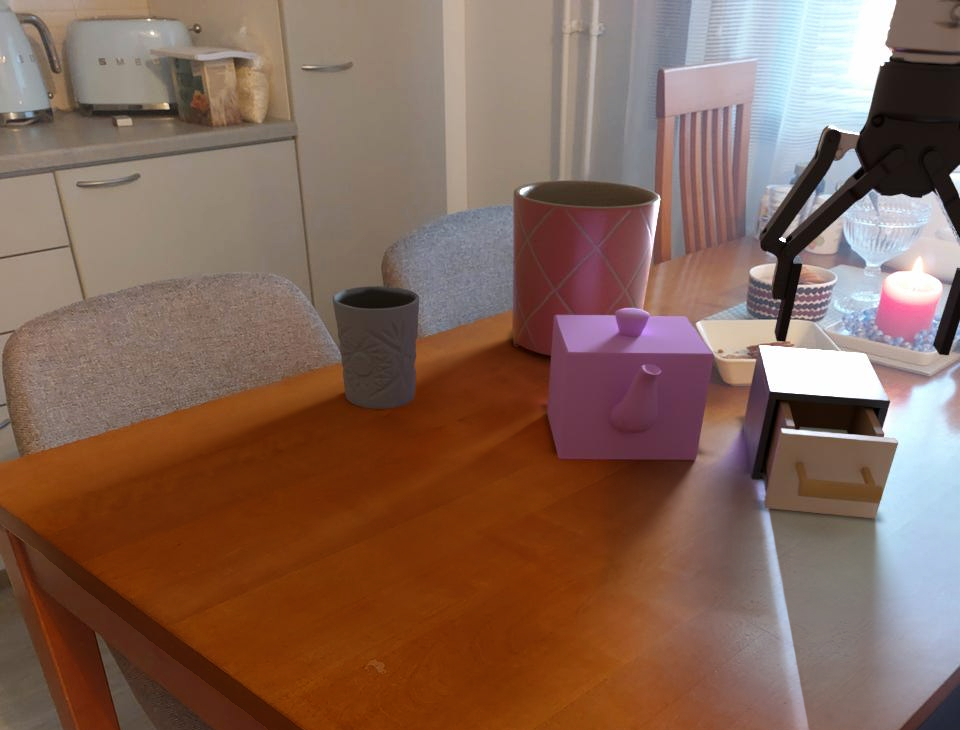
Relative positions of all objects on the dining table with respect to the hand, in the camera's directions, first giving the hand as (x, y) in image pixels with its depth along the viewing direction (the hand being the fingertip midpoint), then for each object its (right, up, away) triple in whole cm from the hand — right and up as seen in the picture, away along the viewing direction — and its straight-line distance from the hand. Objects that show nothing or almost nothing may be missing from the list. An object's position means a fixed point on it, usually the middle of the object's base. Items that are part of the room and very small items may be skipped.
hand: (859, 344), depth 81 cm
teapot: (-17, -3, +24) cm, 30 cm away
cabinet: (+2, -6, +22) cm, 23 cm away
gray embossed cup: (-46, +4, +34) cm, 57 cm away
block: (+1, -10, +12) cm, 16 cm away
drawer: (0, -11, +12) cm, 17 cm away
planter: (-20, +16, +51) cm, 57 cm away
